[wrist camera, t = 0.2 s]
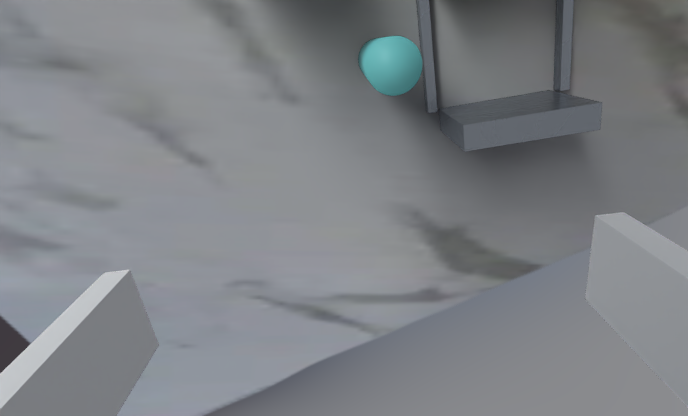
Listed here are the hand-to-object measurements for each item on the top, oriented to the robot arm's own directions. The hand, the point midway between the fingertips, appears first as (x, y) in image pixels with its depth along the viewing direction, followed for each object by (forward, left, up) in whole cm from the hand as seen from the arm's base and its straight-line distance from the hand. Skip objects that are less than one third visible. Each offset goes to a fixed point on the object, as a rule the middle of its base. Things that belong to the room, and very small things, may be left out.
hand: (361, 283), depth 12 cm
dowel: (-5, +3, -28) cm, 28 cm away
